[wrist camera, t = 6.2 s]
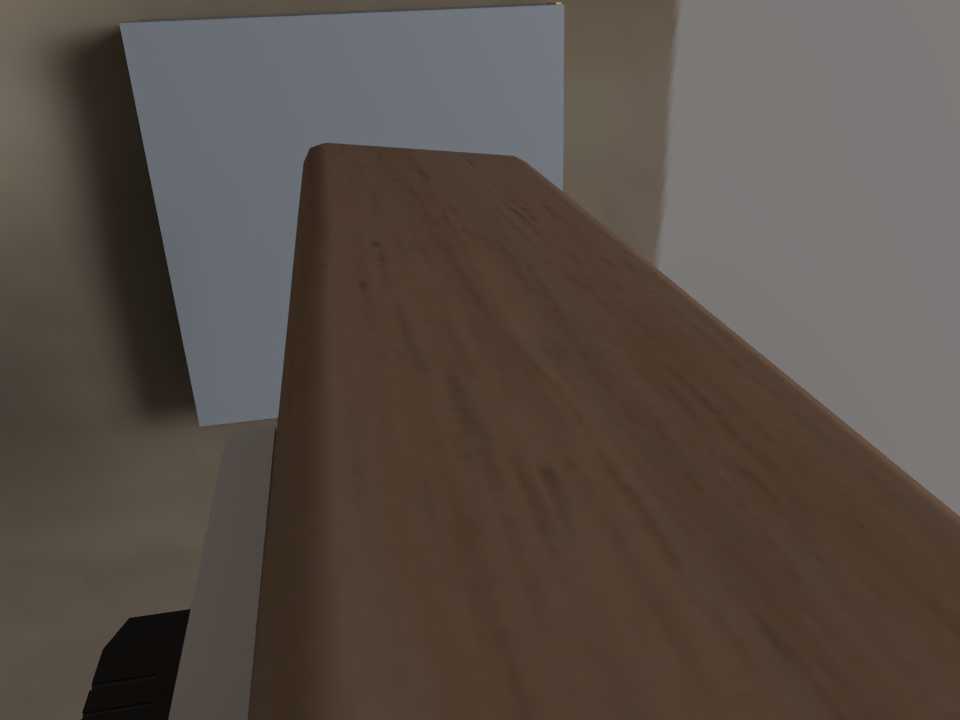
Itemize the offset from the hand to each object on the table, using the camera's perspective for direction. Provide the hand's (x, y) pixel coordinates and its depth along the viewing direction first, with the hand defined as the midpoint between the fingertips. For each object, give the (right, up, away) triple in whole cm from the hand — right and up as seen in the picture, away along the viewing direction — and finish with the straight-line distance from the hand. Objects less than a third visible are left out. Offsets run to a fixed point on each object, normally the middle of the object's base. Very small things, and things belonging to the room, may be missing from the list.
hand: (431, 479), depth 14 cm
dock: (-4, +8, +18) cm, 20 cm away
